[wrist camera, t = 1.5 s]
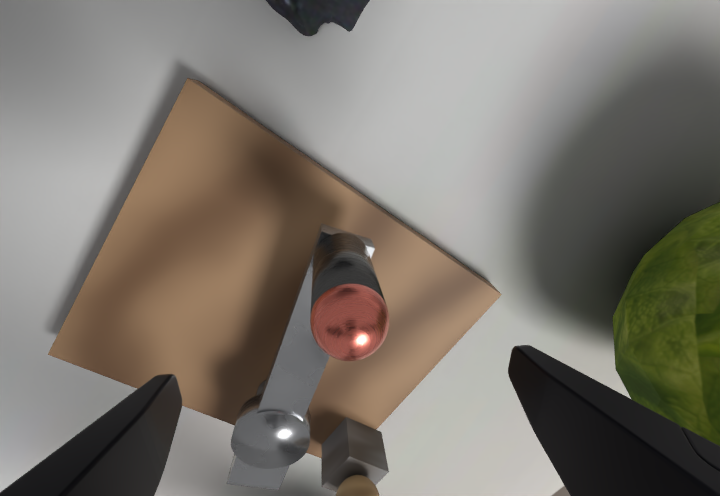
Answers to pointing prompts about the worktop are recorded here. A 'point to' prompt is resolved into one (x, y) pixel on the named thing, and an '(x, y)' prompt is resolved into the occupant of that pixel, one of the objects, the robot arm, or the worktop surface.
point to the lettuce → (675, 326)
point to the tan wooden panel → (259, 284)
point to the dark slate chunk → (319, 13)
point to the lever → (310, 355)
